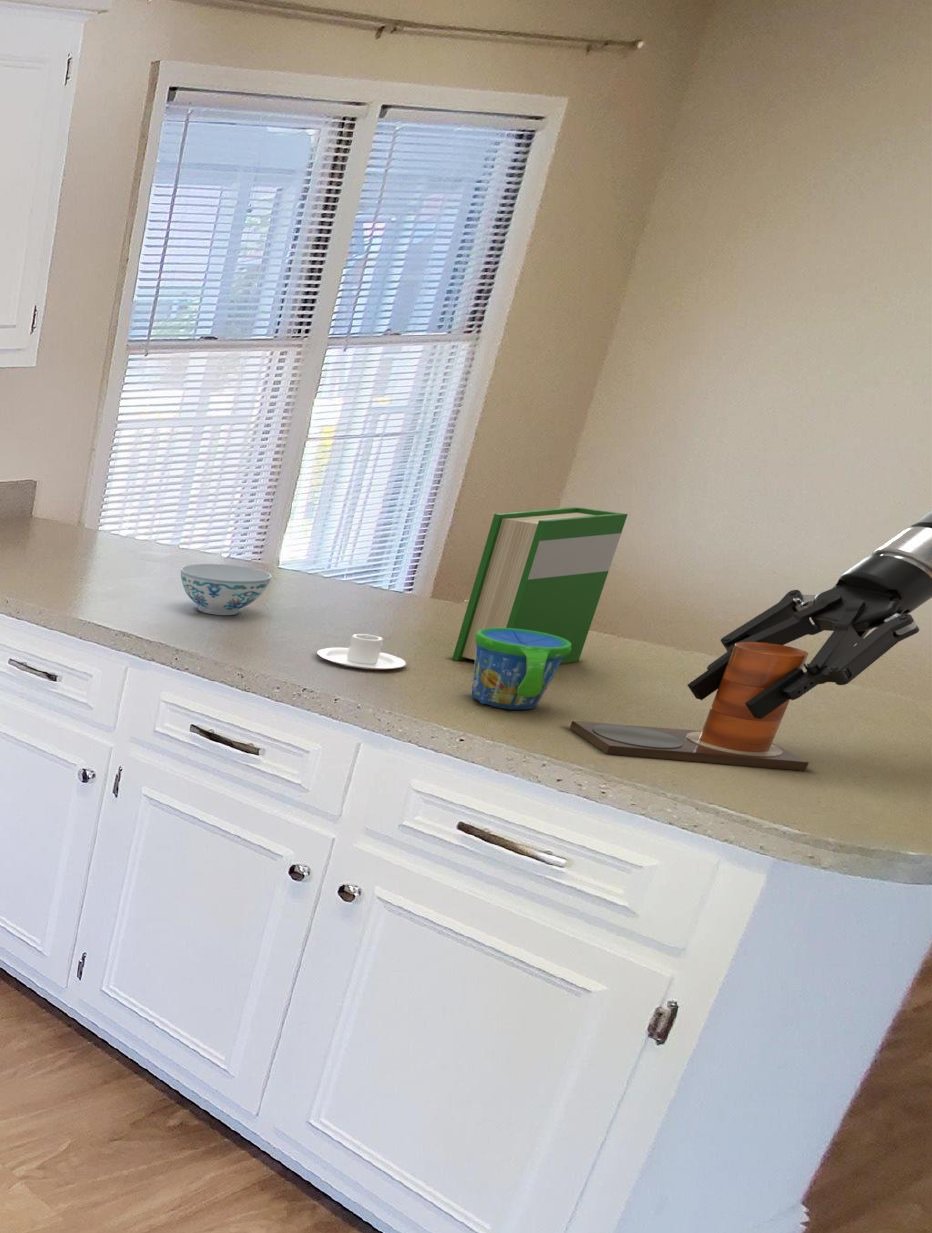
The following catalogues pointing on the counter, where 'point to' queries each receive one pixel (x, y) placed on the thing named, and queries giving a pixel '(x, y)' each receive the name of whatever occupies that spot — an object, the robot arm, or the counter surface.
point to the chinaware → (223, 586)
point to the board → (678, 746)
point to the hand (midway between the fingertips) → (723, 701)
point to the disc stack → (749, 696)
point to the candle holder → (362, 654)
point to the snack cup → (515, 666)
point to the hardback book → (542, 575)
